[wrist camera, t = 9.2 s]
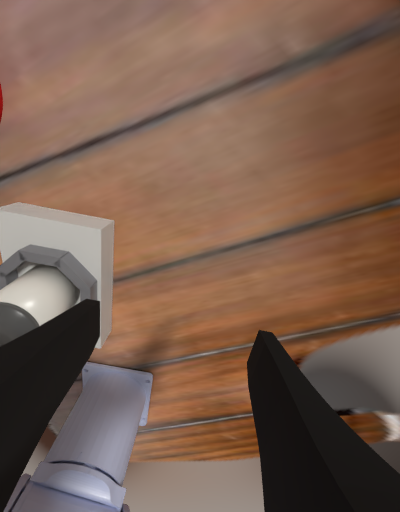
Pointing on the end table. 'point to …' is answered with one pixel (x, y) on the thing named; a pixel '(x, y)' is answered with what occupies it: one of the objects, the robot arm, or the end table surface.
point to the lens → (34, 301)
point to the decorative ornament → (1, 103)
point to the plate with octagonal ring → (61, 251)
